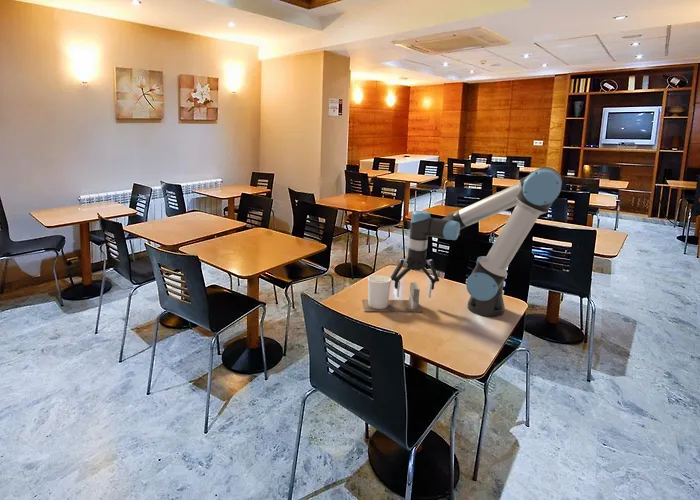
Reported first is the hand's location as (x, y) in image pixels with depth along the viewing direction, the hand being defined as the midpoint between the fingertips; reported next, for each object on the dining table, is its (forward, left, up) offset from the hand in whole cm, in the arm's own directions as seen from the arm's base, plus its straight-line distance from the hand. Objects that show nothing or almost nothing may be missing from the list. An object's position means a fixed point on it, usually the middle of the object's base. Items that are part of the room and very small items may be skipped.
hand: (413, 296), depth 188 cm
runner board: (+8, +4, -5) cm, 10 cm away
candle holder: (+13, +6, -5) cm, 16 cm away
